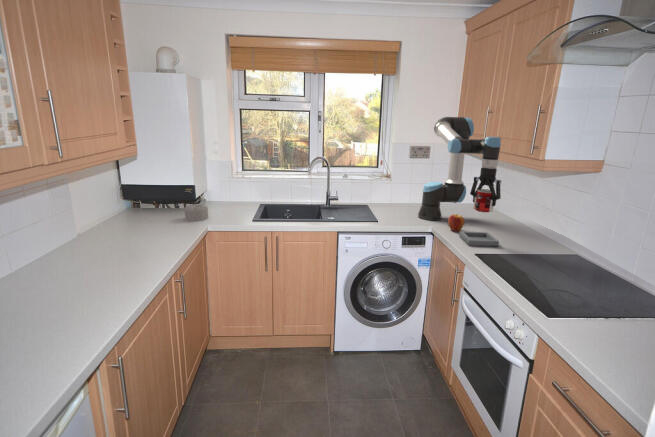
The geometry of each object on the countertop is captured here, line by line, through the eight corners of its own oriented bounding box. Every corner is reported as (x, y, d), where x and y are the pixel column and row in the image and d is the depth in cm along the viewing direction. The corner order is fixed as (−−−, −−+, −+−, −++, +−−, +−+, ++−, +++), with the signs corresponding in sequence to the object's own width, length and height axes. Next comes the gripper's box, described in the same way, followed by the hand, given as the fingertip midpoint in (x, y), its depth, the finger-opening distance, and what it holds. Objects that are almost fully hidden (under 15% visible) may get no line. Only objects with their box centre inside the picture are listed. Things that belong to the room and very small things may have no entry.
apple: (443, 229, 223) (445, 213, 221) (452, 227, 229) (454, 211, 226) (457, 233, 217) (459, 217, 214) (466, 230, 222) (468, 214, 220)
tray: (459, 236, 212) (460, 231, 211) (487, 237, 212) (487, 232, 211) (468, 245, 197) (469, 240, 196) (498, 246, 197) (499, 241, 196)
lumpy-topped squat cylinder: (184, 218, 231) (183, 204, 228) (205, 215, 237) (205, 202, 235) (188, 222, 222) (187, 208, 220) (210, 219, 229) (209, 206, 226)
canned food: (475, 208, 204) (478, 188, 201) (491, 210, 201) (494, 190, 198) (474, 211, 198) (476, 190, 195) (490, 213, 194) (493, 192, 191)
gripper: (466, 165, 198) (461, 207, 204) (506, 170, 183) (499, 215, 190) (473, 164, 203) (467, 205, 209) (512, 169, 188) (505, 213, 195)
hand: (482, 210), depth 199 cm, fingers closed on canned food, 8 cm apart
